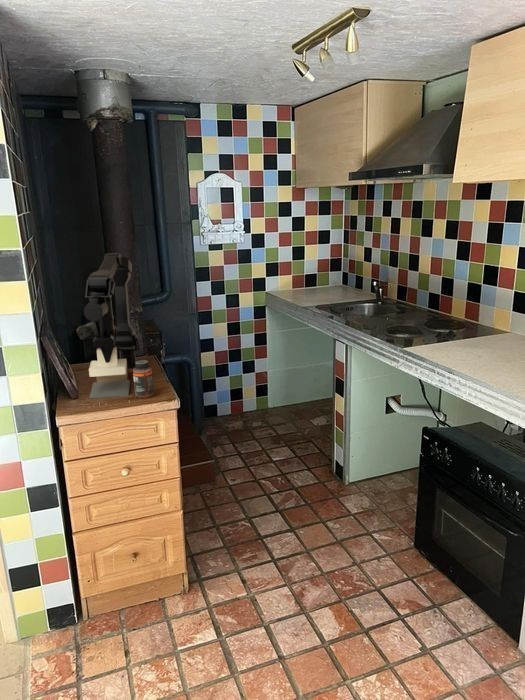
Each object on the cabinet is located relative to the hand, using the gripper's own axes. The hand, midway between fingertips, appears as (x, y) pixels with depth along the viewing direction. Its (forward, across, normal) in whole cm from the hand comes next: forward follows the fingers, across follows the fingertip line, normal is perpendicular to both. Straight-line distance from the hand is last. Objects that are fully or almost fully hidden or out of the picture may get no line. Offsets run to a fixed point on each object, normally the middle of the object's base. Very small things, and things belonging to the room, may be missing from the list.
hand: (107, 361), depth 176 cm
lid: (+4, 0, 0) cm, 4 cm away
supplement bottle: (+10, +8, +11) cm, 17 cm away
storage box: (+10, -12, 0) cm, 15 cm away
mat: (+10, 0, 0) cm, 10 cm away
